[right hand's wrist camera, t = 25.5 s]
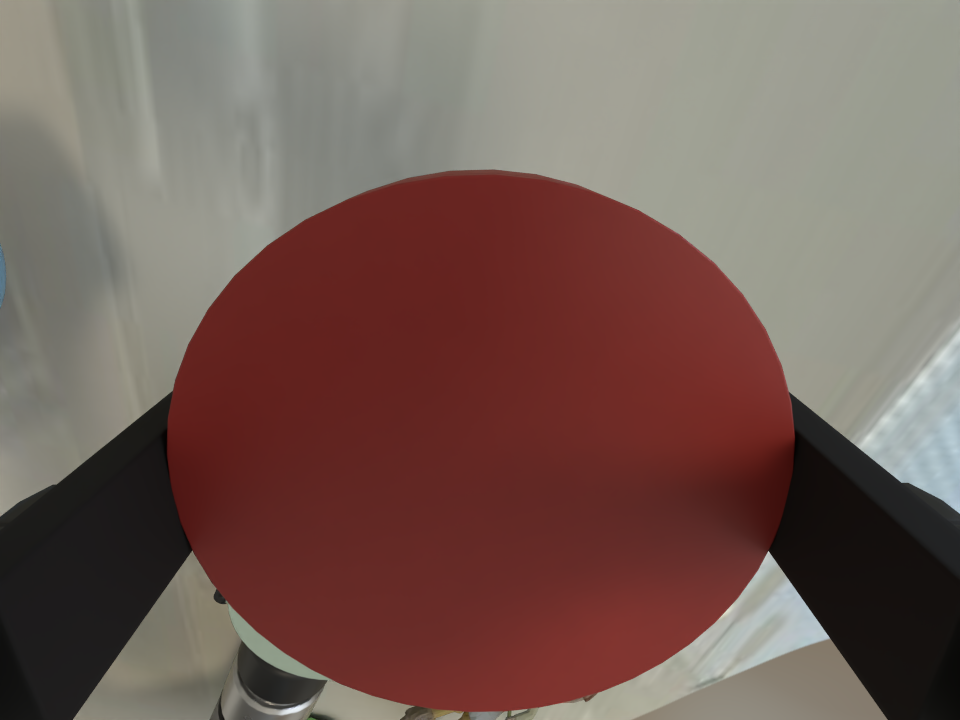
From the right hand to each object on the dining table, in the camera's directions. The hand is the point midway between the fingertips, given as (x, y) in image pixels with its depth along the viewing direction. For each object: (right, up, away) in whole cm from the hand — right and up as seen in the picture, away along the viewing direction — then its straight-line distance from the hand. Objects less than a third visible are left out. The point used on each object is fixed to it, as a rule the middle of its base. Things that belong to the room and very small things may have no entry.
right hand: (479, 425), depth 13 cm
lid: (0, -1, -2) cm, 2 cm away
